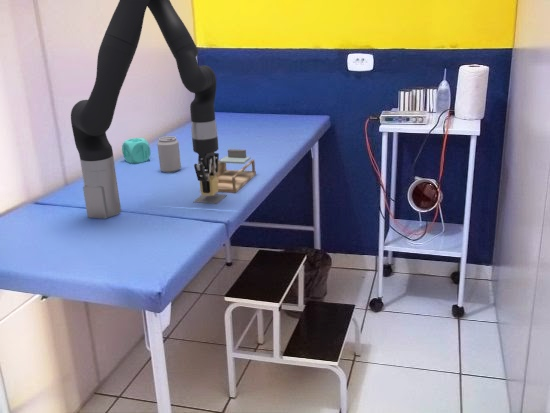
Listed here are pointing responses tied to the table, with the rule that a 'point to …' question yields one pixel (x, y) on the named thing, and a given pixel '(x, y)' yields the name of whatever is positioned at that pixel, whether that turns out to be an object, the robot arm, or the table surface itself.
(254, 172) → the wooden rack
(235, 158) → the lid
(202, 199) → the mat
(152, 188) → the table surface
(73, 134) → the robot arm
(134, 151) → the decorative dice
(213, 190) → the block
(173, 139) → the can
